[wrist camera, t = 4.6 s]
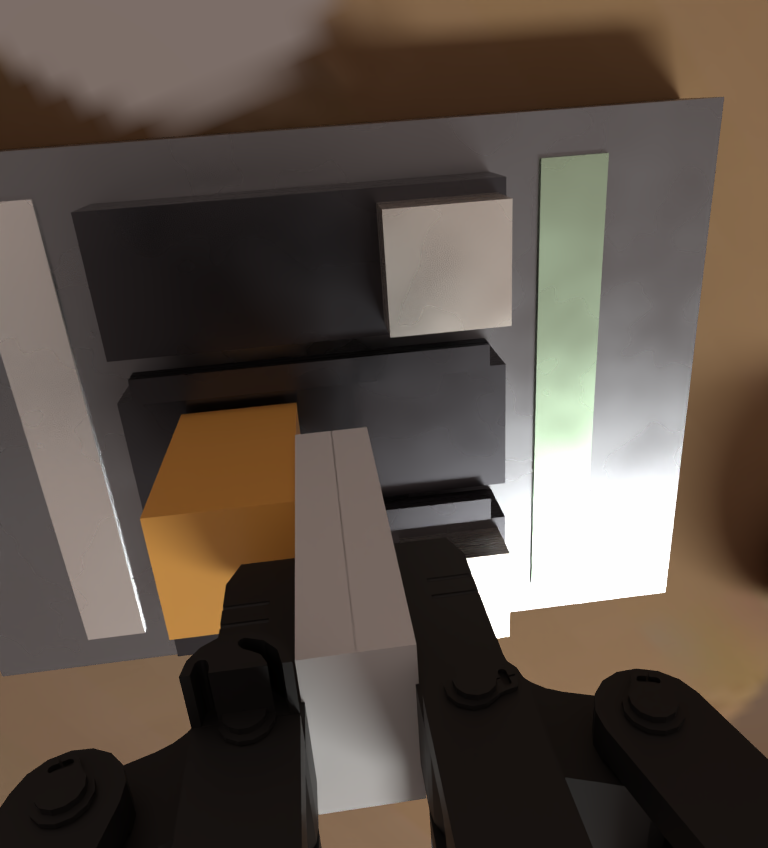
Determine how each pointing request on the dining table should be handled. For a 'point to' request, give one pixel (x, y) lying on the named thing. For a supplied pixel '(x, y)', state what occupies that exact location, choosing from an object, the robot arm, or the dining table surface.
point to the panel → (354, 344)
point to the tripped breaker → (219, 508)
